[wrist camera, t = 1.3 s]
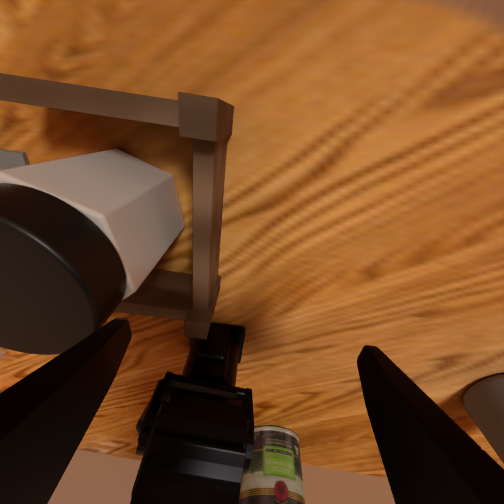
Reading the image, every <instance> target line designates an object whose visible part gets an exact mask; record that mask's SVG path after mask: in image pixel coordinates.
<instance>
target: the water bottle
mask: <svg viewBox="0 0 504 504" xmlns="http://www.w3.org/2000/svg"><path fill="white" fill-rule="evenodd" d="M463 404H464V407H465V409H466V410H467V412H468V413H469V415H470V416H471V418H472V419H473V420H474V422H475V423H476V425H477V426H478V428H479V429H480V430H481V432H482V433H483V435H484V436H485V438H486V439H487V440H488V442H489V443H490V445H491V446H492V448H493V449H494V450H495V452H496V453H497V455H498V456H499V458H500V459H501V460H502V462H503V463H504V374H499V375H495V376H491V377H488V378H485V379H483V380H481V381H479V382H477V383H475V384H474V385H472V386H471V387H470V388H469V389H468V390H467V391H466V392H465V394H464V396H463Z"/></svg>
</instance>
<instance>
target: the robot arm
mask: <svg viewBox="0 0 504 504" xmlns="http://www.w3.org/2000/svg"><path fill="white" fill-rule="evenodd" d="M245 331H246V329H245V328H244V327H242V326H234V325H226V324H218V323H211V324H210V328H209V332H208V335H207V339H199V338H191V337H190V352H189V355H188V358H187V361H186V364H185V367H184V370H183V373H182V375H177V374H173V372H168V371H167V373H166V375H165V377H164V379H162V380H159V381H158V383H157V386H156V388H155V391H154V393H153V395H152V398H151V400H150V401H149V403H148V405H147V407H146V408H145V410H144V412H143V413H142V415H141V417H140V419H139V421H138V423H137V426H136V430H137V432H138V435H139V437H138V446H137V450H136V455H140V456H143V458H142V461H141V464H140V468H139V471H138V474H137V477H136V480H135V483H134V486H133V490H132V496H131V497H132V499H131V503H130V504H239V496H240V490H241V483H242V477H243V473H247V471H248V469H249V466H250V463H251V458H252V453H253V445H254V416H253V400H252V389H249V388H246V389H244V388H240V387H235V384H236V375H237V366H238V363H240V361H241V355H242V349H243V343H244V338H245ZM131 336H132V334H131V329H130V325H129V321H128V320H127V319H121V318H116V319H114V320H112V321H111V322H109V323H108V324H106V325H104V326H103V327H101V328H100V329H98V330H97V331H95V332H94V333H92V334H91V335H89V336H88V337H86V338H85V339H83V340H81V341H80V342H78V343H77V344H75V345H74V346H72V347H71V348H69V349H68V350H66V351H65V352H63V353H61V354H60V355H58V356H57V357H55V358H54V359H52V360H51V361H49V362H48V363H46V364H45V365H43V366H42V367H40V368H38V369H37V370H35V371H34V372H32V373H31V374H29V375H28V376H26V377H25V378H23V379H22V380H20V381H18V382H17V383H15V384H14V385H12V386H11V387H9V388H8V389H6V390H5V391H3V392H2V393H0V504H47V503H48V501H49V500H50V498H51V496H52V494H53V492H54V490H55V488H56V487H57V485H58V483H59V481H60V479H61V477H62V475H63V473H64V472H65V470H66V468H67V466H68V464H69V462H70V461H71V459H72V457H73V455H74V453H75V451H76V450H77V448H78V446H79V444H80V442H81V440H82V438H83V437H84V435H85V433H86V431H87V429H88V427H89V425H90V424H91V422H92V420H93V418H94V416H95V414H96V412H97V411H98V409H99V407H100V405H101V403H102V401H103V399H104V398H105V396H106V394H107V392H108V390H109V388H110V386H111V384H112V382H113V380H114V378H115V376H116V374H117V371H118V369H119V367H120V364H121V362H122V359H123V357H124V355H125V352H126V350H127V347H128V345H129V343H130V340H131ZM357 366H358V371H359V376H360V381H361V386H362V391H363V396H364V400H365V405H366V409H367V412H368V416H369V419H370V422H371V426H372V429H373V432H374V435H375V439H376V442H377V445H378V448H379V452H380V455H381V458H382V461H383V465H384V468H385V471H386V474H387V478H388V481H389V484H390V487H391V491H392V494H393V497H394V500H395V503H396V504H504V469H503V468H502V467H501V466H500V465H499V464H498V463H497V462H496V461H495V460H494V459H493V458H491V457H490V456H489V455H488V454H487V453H486V452H485V451H484V450H482V449H481V447H480V446H479V445H478V444H477V443H476V442H475V441H474V440H473V439H472V438H471V437H470V436H469V435H468V434H467V433H466V432H465V431H464V430H462V429H461V428H460V427H459V426H458V425H457V424H456V423H455V422H454V421H453V420H452V419H451V418H450V417H449V416H448V415H447V414H446V413H445V412H444V411H443V410H442V409H441V408H440V407H439V406H438V405H437V404H436V403H435V402H434V401H433V400H432V399H430V398H429V397H428V396H427V395H426V394H425V393H424V392H423V391H422V390H421V389H420V388H419V387H418V386H417V385H416V384H415V383H414V382H413V381H412V380H411V379H410V378H409V377H408V376H407V375H406V374H405V373H404V372H403V371H402V370H401V369H400V368H399V367H397V366H396V365H395V364H394V363H393V362H392V361H391V360H390V359H389V358H388V357H387V356H386V355H385V354H384V353H383V352H382V351H381V350H380V349H379V348H378V347H376V346H370V345H365V346H364V347H363V349H362V351H361V353H360V354H359V356H358V359H357Z"/></svg>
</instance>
